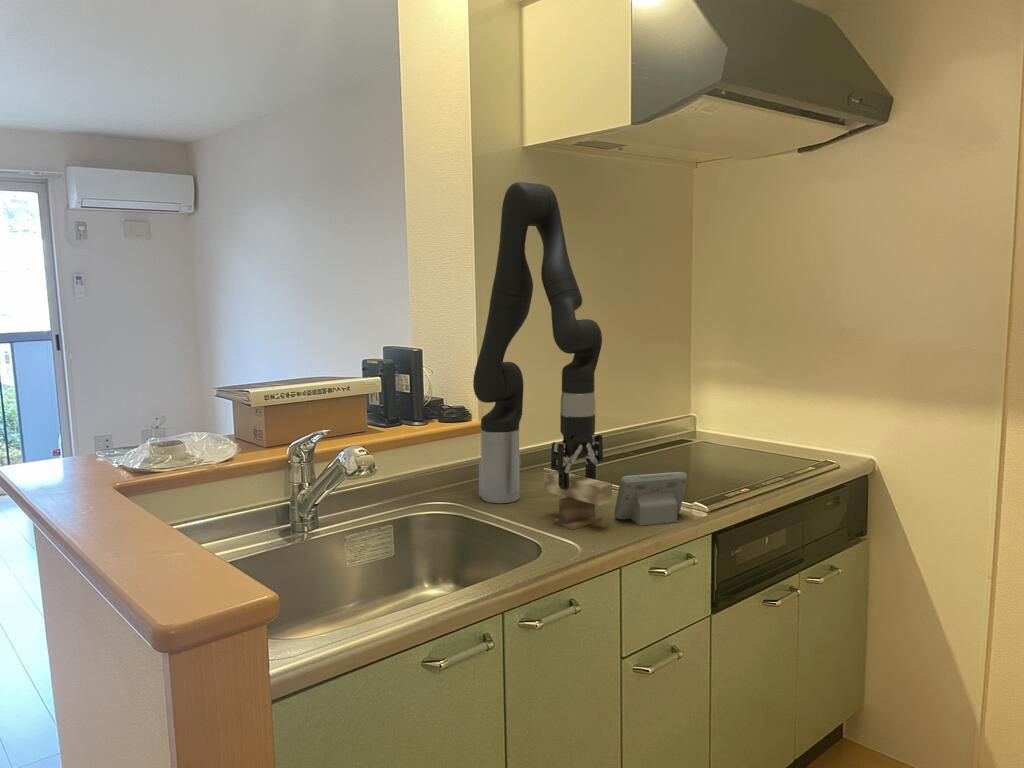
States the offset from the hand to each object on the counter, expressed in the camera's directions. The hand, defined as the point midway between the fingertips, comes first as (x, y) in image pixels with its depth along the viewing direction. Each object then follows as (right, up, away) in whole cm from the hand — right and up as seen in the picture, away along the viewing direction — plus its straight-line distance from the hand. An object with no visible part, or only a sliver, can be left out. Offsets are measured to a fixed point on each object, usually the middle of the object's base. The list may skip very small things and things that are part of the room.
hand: (577, 485), depth 170 cm
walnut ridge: (0, -8, +1) cm, 8 cm away
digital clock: (+17, -8, +3) cm, 19 cm away
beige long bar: (0, -3, 0) cm, 3 cm away
